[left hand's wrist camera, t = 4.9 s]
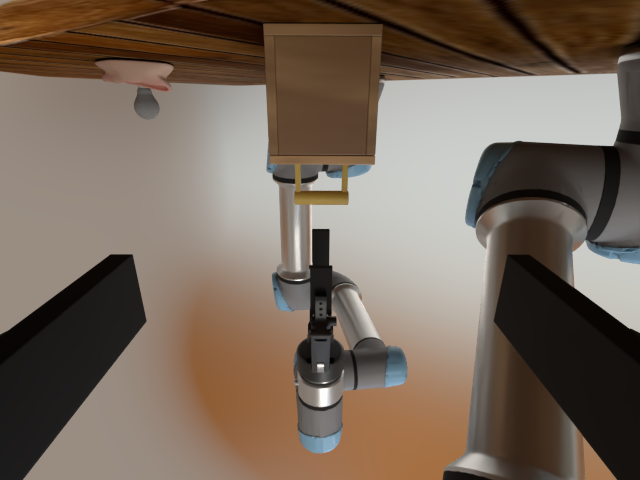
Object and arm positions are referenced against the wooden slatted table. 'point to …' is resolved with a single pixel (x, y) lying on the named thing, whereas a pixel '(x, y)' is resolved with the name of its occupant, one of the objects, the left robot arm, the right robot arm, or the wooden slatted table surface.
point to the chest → (322, 87)
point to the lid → (343, 160)
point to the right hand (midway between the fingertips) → (320, 245)
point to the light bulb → (146, 103)
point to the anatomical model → (137, 73)
